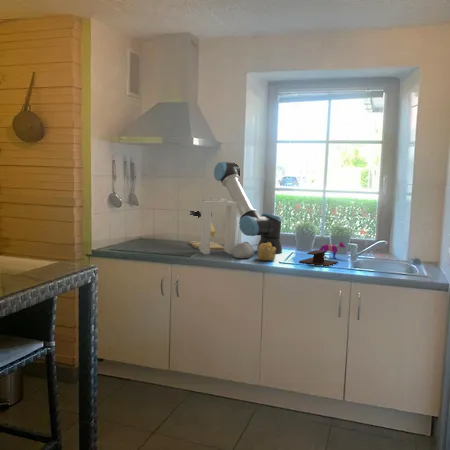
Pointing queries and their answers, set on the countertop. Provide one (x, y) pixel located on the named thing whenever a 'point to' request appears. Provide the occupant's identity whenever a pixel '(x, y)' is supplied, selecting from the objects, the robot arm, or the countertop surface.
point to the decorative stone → (243, 250)
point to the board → (212, 245)
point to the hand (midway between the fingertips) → (206, 215)
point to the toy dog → (332, 248)
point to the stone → (266, 252)
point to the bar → (212, 230)
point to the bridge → (229, 224)
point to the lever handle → (318, 259)
